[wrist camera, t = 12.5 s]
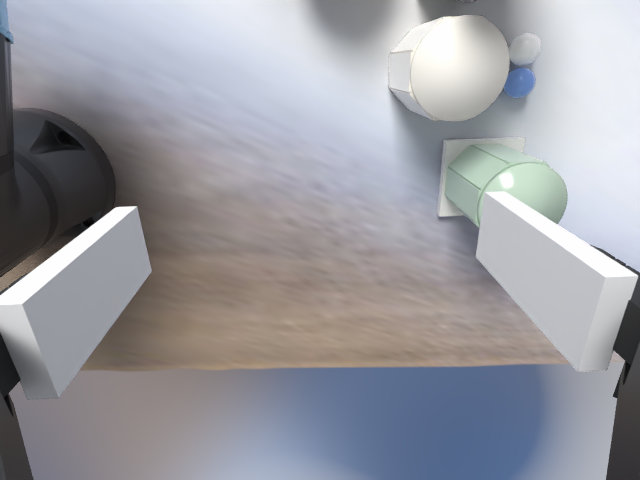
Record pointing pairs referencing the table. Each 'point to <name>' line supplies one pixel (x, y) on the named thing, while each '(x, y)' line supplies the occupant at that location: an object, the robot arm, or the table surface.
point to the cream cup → (450, 67)
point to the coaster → (453, 151)
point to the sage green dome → (503, 181)
